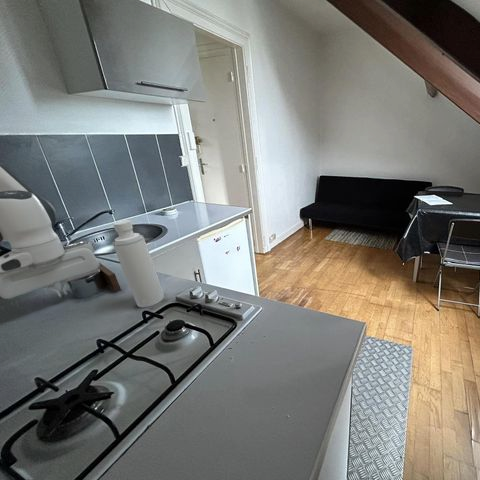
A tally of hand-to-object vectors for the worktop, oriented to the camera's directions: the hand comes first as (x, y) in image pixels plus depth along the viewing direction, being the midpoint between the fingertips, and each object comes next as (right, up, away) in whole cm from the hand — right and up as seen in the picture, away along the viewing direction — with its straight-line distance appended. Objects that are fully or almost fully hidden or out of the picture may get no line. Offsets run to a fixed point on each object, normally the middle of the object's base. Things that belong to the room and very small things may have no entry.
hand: (63, 295), depth 75 cm
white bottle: (+26, -1, -1) cm, 26 cm away
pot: (+3, 0, +5) cm, 6 cm away
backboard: (+2, +3, +12) cm, 12 cm away
